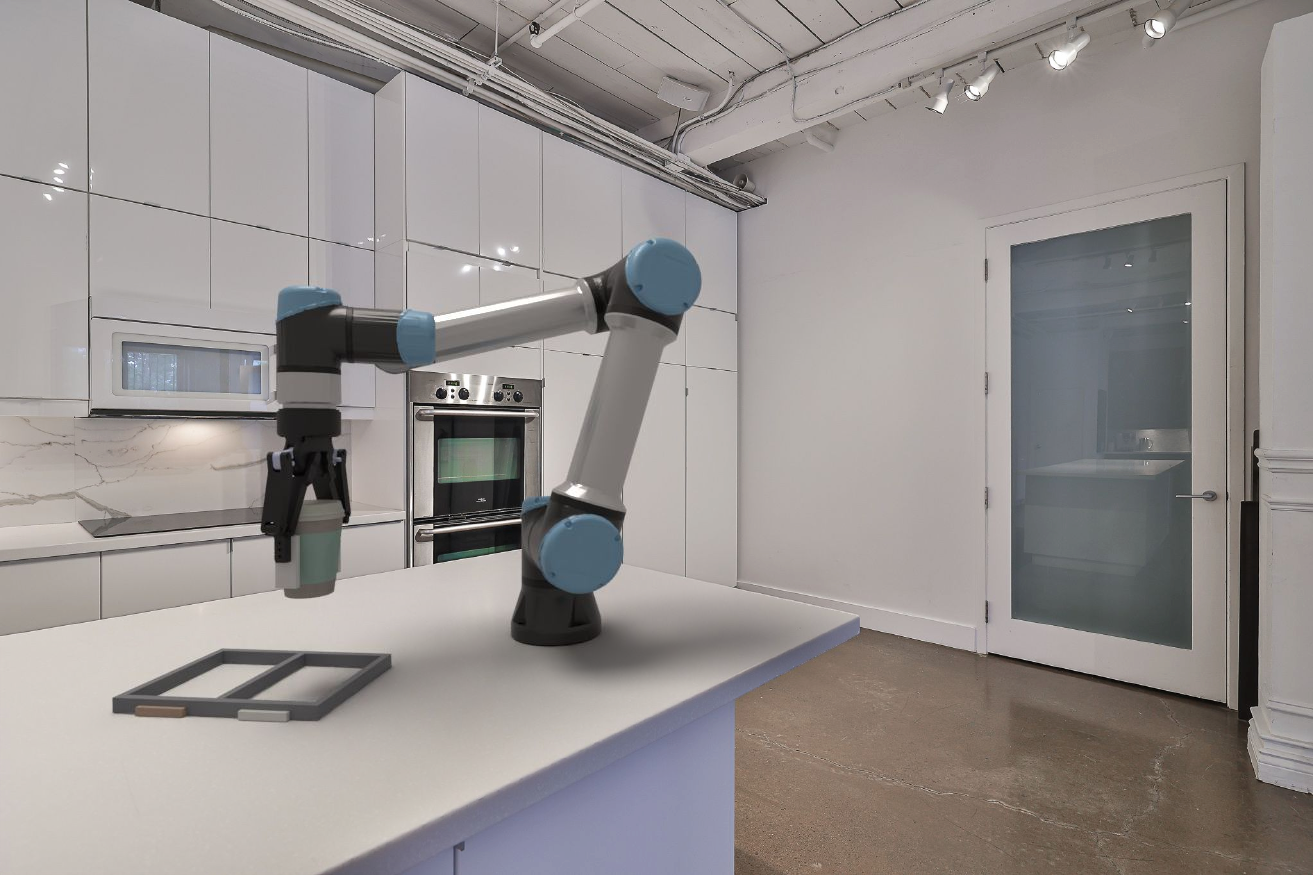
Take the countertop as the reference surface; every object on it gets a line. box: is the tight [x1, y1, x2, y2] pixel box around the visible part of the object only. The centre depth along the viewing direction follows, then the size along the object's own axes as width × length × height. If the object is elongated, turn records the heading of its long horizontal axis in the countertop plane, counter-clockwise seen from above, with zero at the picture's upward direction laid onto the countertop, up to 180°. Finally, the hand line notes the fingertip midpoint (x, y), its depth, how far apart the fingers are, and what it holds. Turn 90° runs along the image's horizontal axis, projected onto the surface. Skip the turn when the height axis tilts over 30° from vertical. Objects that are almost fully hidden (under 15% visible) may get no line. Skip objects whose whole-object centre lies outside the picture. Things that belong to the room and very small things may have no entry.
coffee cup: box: [283, 499, 346, 600], centre depth 87 cm, size 8×8×12 cm
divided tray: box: [111, 648, 392, 723], centre depth 88 cm, size 26×19×2 cm
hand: (309, 579), depth 87 cm, fingers closed on coffee cup, 8 cm apart
